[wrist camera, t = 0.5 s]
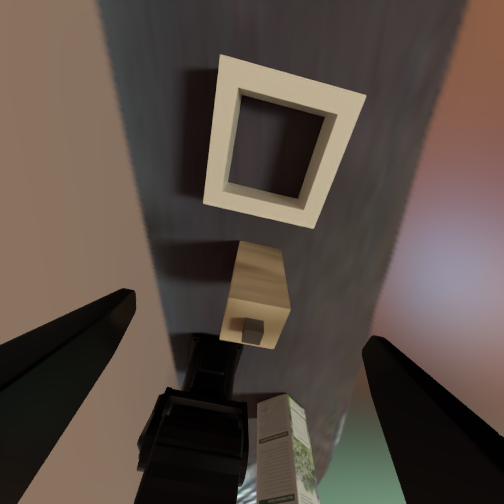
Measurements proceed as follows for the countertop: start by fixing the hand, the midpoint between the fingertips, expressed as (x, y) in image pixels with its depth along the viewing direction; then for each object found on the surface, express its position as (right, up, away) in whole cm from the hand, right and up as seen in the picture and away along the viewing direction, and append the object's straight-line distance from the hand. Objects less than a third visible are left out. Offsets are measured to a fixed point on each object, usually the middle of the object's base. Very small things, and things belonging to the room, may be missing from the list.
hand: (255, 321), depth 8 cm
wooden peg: (0, +2, +13) cm, 13 cm away
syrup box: (+5, -22, +26) cm, 34 cm away
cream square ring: (+1, +10, +9) cm, 13 cm away
